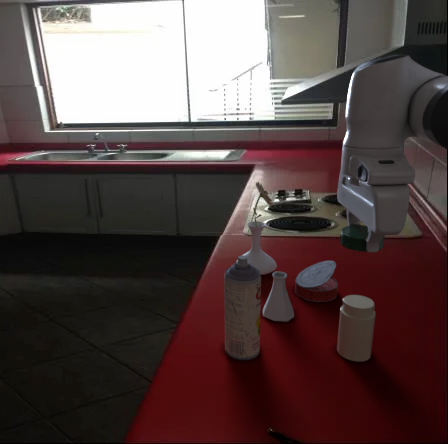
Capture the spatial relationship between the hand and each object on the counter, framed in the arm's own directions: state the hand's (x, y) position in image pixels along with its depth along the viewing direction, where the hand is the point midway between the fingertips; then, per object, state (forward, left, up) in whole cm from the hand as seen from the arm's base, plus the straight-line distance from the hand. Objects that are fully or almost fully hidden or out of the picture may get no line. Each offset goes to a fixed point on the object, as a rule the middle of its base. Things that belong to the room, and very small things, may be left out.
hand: (362, 241), depth 72 cm
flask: (+13, -14, -24) cm, 30 cm away
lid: (0, 0, +1) cm, 1 cm away
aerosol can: (+20, +1, -24) cm, 31 cm away
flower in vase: (+19, -38, -24) cm, 48 cm away
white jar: (-1, -2, -23) cm, 23 cm away
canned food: (+4, -26, -24) cm, 35 cm away
